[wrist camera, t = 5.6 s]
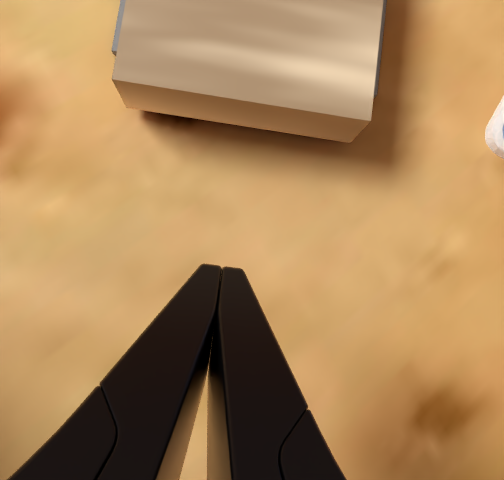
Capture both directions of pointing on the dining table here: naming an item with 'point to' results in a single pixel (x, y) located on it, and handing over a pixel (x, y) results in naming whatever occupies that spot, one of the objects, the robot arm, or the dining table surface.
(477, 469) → the dining table surface
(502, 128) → the tablet computer
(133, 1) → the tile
